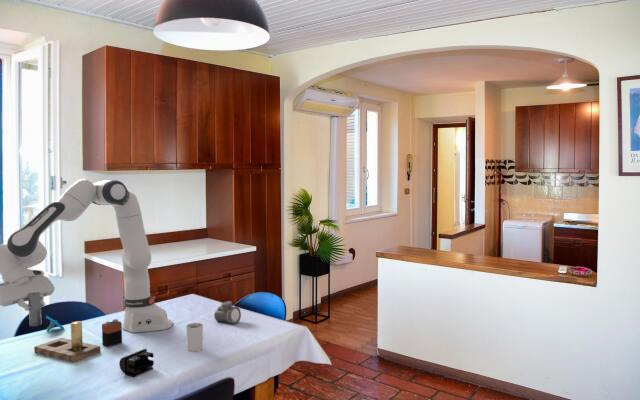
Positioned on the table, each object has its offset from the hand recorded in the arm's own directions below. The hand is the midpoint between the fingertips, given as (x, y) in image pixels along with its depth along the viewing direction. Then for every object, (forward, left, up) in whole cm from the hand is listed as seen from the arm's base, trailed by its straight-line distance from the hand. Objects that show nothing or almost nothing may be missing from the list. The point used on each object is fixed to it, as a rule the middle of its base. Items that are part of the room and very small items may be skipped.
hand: (35, 307), depth 187 cm
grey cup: (-57, -8, -22) cm, 62 cm away
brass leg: (-11, -8, -22) cm, 26 cm away
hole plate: (-6, -11, -22) cm, 25 cm away
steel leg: (+1, 0, -7) cm, 7 cm away
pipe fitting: (-68, -44, -22) cm, 84 cm away
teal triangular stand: (+11, -42, -22) cm, 49 cm away
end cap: (-40, +12, -22) cm, 47 cm away
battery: (-22, -19, -22) cm, 36 cm away
